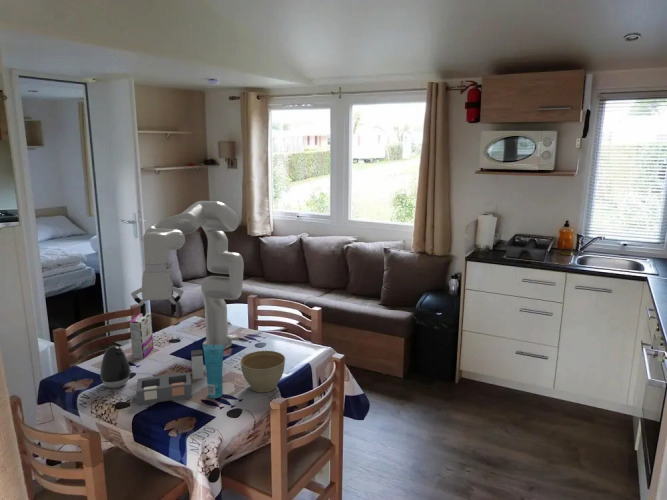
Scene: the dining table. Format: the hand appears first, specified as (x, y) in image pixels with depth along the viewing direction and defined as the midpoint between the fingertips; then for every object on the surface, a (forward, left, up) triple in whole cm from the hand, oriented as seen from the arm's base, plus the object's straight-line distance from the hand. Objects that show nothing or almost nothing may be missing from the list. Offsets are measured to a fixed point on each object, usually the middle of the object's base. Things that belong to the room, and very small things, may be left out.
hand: (158, 314), depth 174 cm
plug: (-13, -6, -28) cm, 32 cm away
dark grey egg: (+16, -8, -29) cm, 34 cm away
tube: (-18, +11, -29) cm, 35 cm away
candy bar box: (+8, -35, -29) cm, 46 cm away
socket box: (-1, +5, -28) cm, 29 cm away
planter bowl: (-35, +9, -29) cm, 46 cm away
